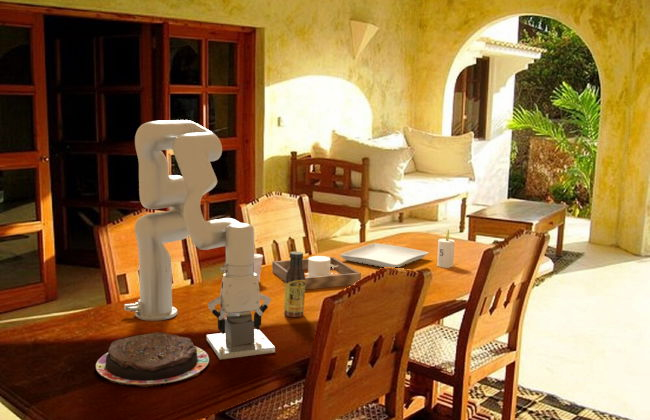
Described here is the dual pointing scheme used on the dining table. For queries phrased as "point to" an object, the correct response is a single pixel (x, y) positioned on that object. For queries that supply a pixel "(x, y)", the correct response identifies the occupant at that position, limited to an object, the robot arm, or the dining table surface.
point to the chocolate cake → (151, 360)
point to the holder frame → (345, 278)
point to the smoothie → (257, 264)
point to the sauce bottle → (295, 287)
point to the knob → (239, 328)
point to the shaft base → (240, 346)
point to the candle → (445, 252)
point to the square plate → (383, 255)
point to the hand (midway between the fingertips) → (239, 330)
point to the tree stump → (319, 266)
